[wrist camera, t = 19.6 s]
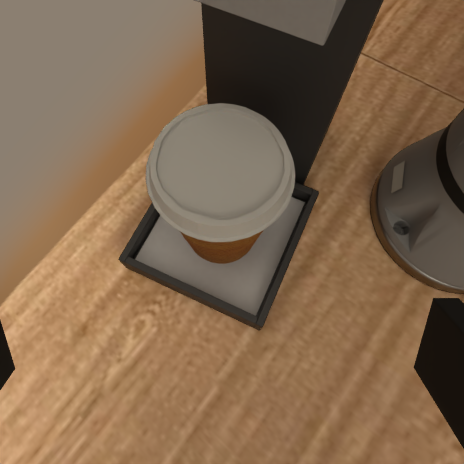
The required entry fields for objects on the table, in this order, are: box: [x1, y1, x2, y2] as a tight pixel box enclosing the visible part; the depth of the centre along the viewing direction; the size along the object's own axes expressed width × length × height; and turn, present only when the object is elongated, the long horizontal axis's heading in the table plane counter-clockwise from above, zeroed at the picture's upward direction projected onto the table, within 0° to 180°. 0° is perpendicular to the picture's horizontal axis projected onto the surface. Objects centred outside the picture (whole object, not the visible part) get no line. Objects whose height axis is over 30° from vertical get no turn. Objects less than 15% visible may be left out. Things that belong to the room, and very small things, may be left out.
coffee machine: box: [119, 0, 383, 330], centre depth 24 cm, size 13×22×26 cm, turn 155°
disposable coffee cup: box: [146, 103, 295, 264], centre depth 28 cm, size 10×10×12 cm
